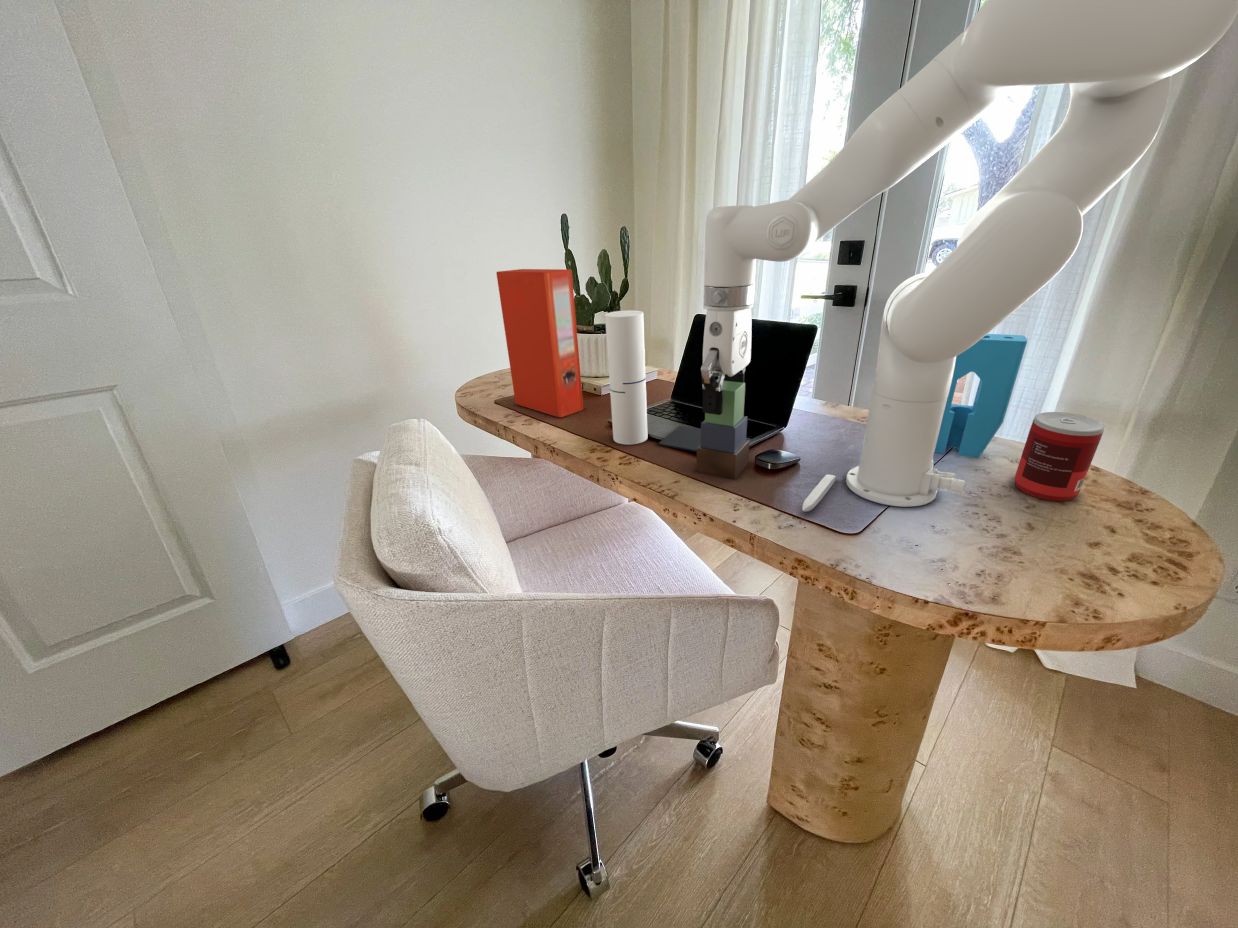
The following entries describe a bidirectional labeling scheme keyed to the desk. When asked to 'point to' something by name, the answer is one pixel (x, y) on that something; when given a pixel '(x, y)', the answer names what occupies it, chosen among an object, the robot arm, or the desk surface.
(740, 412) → the green block
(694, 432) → the coaster
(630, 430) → the cylindrical container
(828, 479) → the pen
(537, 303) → the file binder
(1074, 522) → the desk surface
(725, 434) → the mid block
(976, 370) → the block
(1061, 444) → the canned food
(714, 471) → the base block
